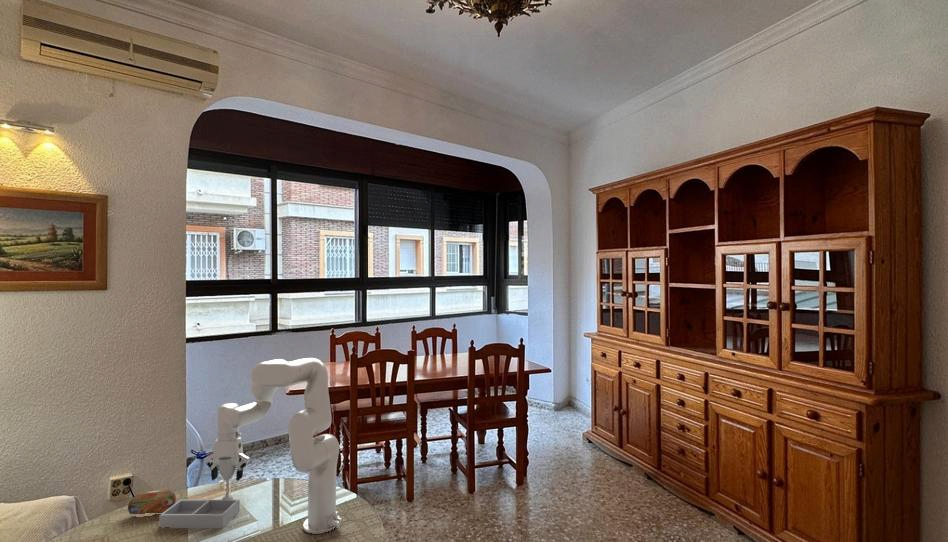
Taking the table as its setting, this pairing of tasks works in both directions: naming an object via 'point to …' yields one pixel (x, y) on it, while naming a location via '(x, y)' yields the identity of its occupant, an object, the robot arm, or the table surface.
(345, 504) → the table surface
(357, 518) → the table surface
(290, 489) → the table surface
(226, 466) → the chalice
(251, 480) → the table surface
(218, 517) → the holder
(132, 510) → the tin
